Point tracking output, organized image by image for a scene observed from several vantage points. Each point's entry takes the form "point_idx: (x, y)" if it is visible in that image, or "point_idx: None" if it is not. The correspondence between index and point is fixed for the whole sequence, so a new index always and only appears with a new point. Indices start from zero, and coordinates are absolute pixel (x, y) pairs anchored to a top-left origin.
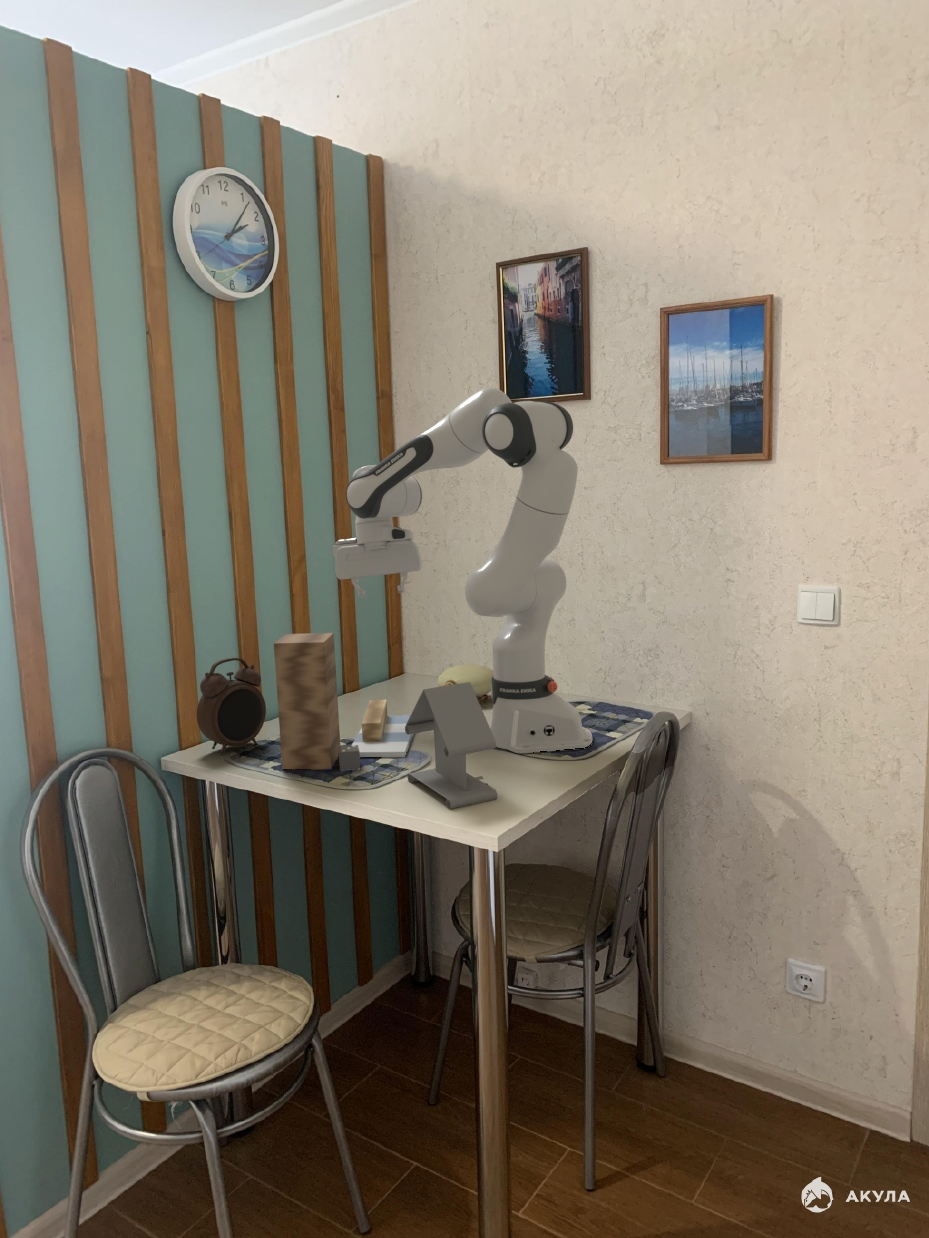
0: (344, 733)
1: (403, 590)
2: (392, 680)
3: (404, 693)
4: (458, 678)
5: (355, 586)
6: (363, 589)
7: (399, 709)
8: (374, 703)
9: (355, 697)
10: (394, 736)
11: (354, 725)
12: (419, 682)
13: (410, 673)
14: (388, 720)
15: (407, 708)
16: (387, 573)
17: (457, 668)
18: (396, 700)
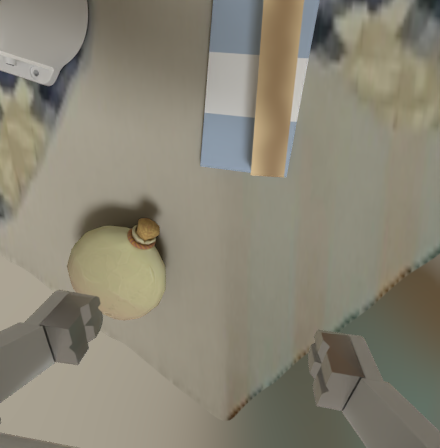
0: (332, 101)
1: (55, 292)
2: (244, 391)
3: (226, 321)
4: (121, 246)
5: (410, 410)
6: (329, 373)
7: (234, 235)
8: (275, 149)
9: (303, 320)
10: (240, 23)
11: (311, 152)
12: (205, 369)
13: (219, 415)
14: (251, 140)
15: (221, 238)
16: (56, 445)
17: (120, 282)
18: (238, 287)
